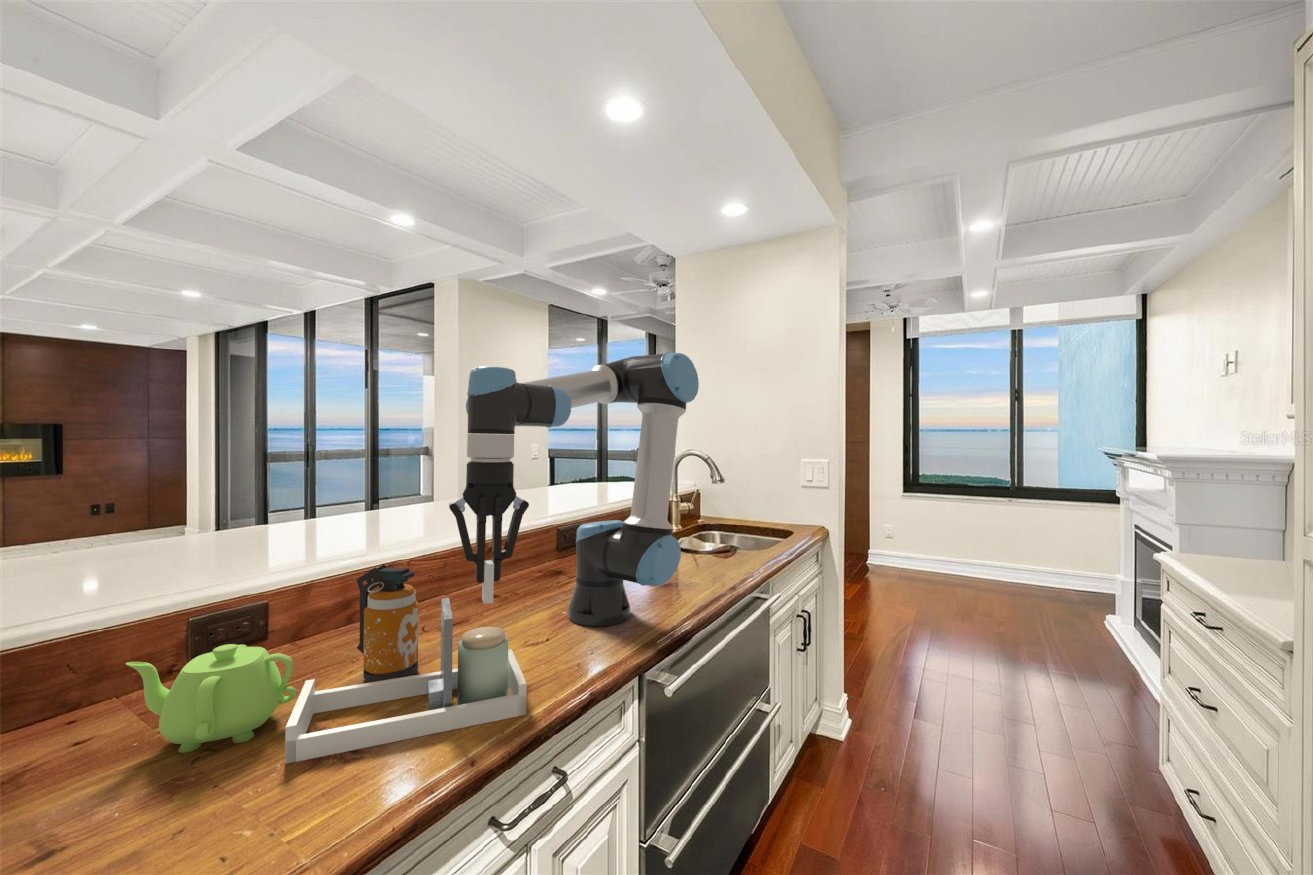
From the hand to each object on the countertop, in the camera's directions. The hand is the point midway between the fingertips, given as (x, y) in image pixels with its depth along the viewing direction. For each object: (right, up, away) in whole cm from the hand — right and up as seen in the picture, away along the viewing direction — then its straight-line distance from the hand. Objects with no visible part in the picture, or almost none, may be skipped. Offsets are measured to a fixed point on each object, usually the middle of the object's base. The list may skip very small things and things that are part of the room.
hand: (487, 601), depth 88 cm
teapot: (-37, -17, -10) cm, 42 cm away
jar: (-1, -17, 0) cm, 17 cm away
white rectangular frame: (-10, -17, -4) cm, 20 cm away
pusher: (-7, -16, -3) cm, 18 cm away
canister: (-21, -17, +9) cm, 28 cm away
